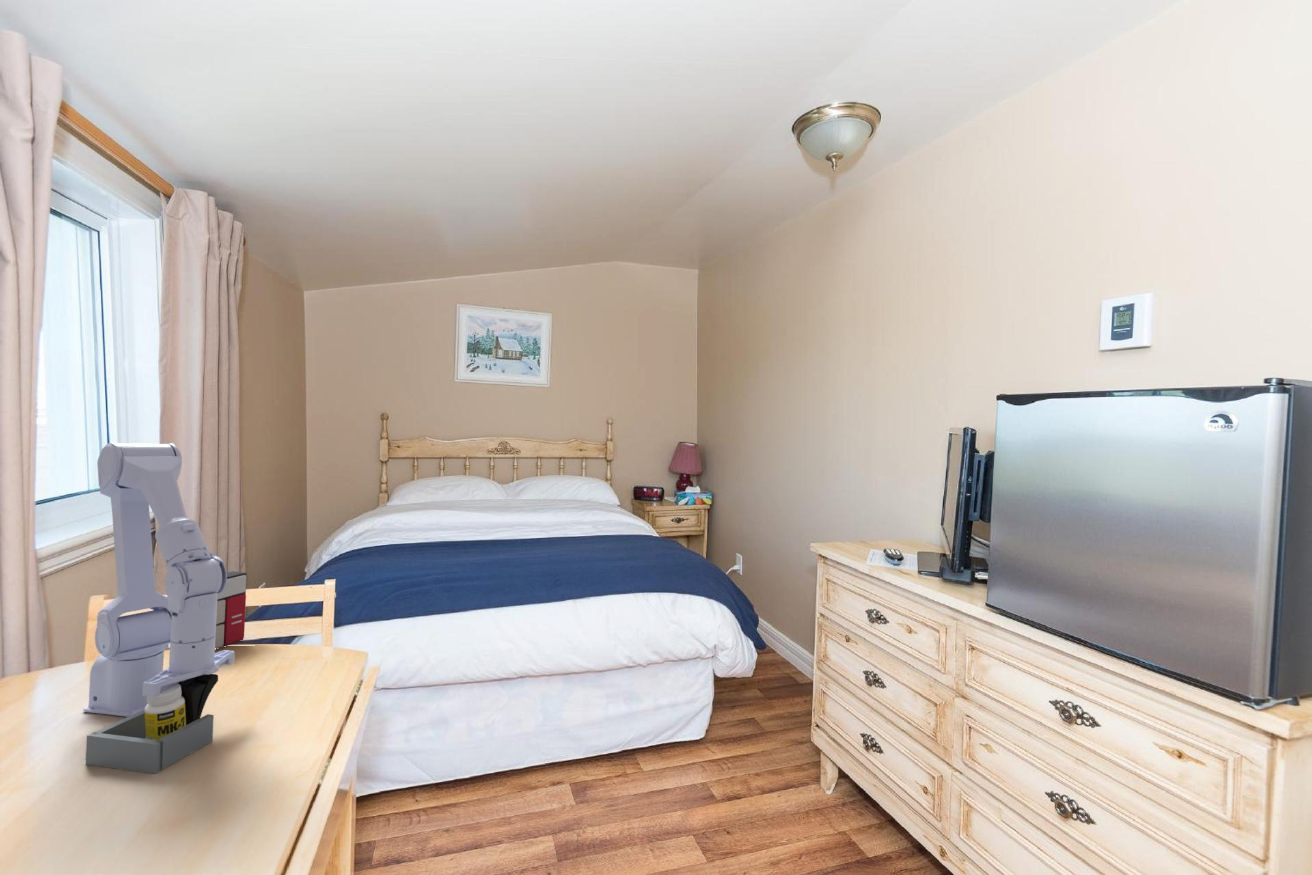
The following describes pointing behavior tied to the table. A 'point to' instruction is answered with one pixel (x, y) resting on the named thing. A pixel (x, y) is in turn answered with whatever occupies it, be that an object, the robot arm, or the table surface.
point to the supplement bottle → (165, 713)
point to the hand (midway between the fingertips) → (189, 724)
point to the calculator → (231, 610)
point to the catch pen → (145, 744)
